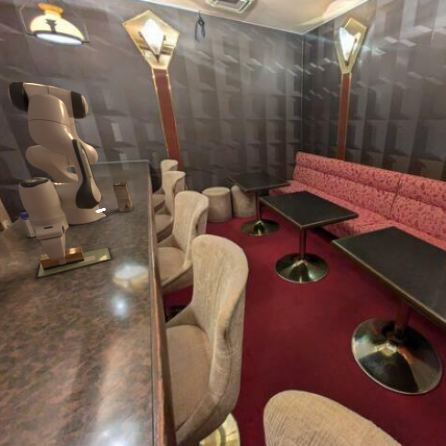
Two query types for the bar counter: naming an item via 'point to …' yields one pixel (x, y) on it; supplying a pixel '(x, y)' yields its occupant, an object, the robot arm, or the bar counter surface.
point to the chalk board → (89, 259)
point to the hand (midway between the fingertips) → (63, 259)
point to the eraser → (70, 257)
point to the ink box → (27, 224)
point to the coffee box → (122, 196)
